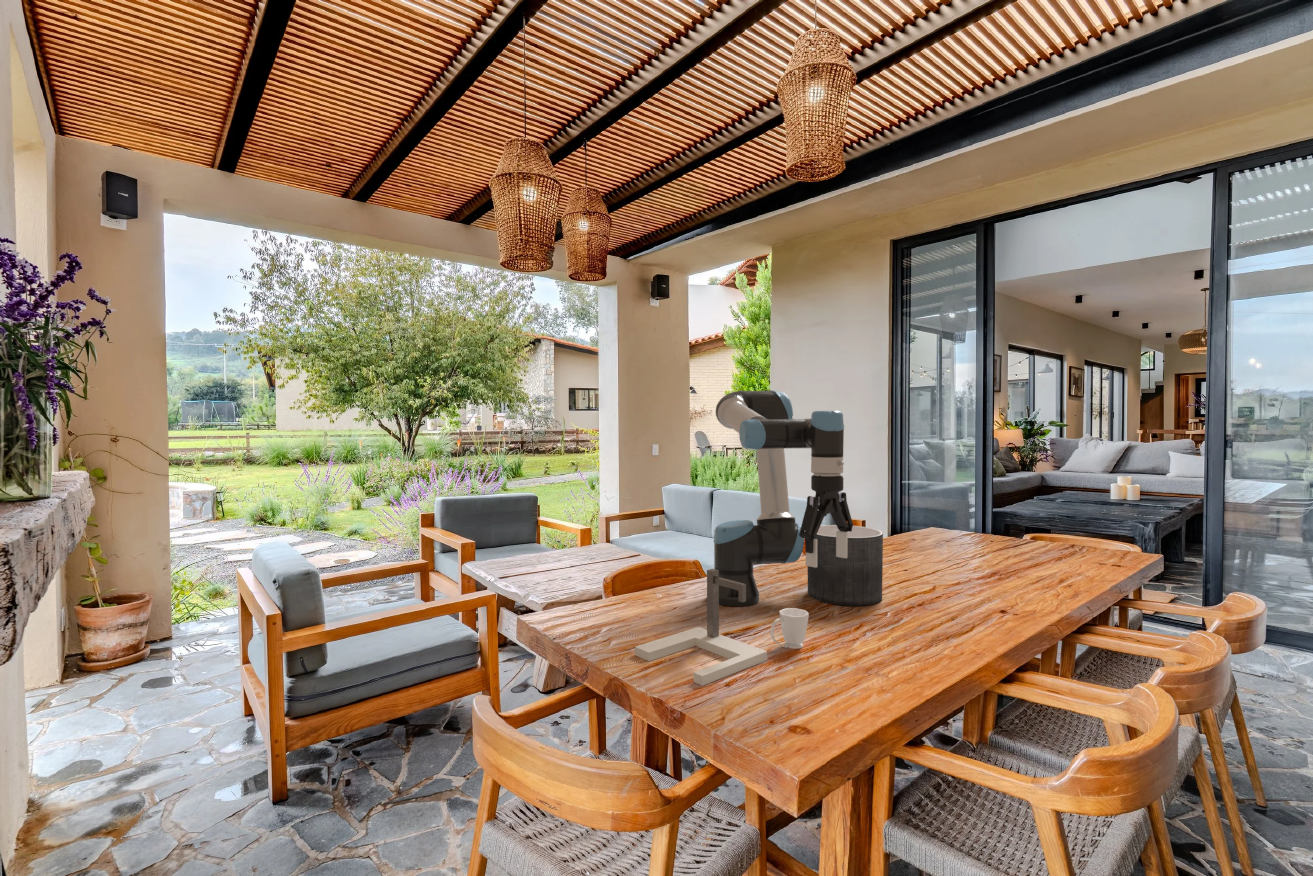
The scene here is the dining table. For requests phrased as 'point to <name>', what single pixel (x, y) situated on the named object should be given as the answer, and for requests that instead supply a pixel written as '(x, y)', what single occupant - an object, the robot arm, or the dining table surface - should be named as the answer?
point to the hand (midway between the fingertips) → (827, 561)
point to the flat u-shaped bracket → (726, 647)
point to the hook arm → (713, 599)
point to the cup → (792, 627)
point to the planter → (848, 568)
